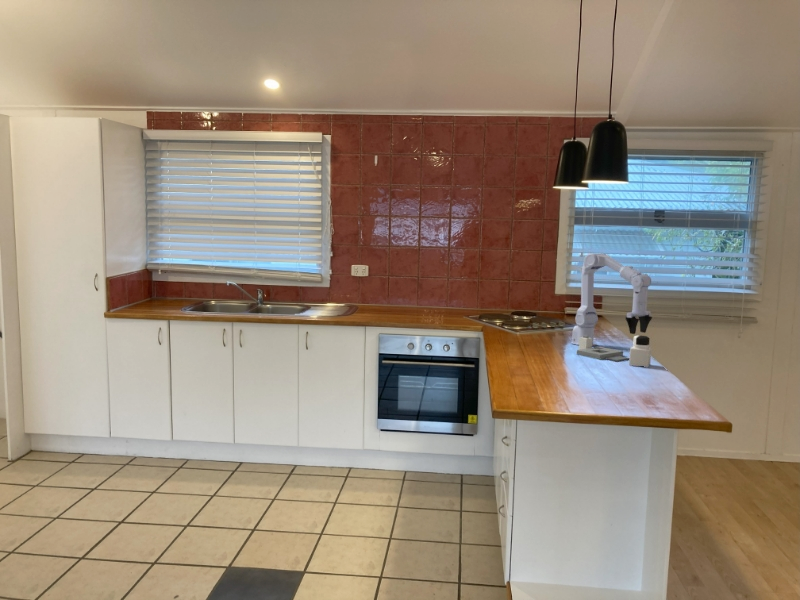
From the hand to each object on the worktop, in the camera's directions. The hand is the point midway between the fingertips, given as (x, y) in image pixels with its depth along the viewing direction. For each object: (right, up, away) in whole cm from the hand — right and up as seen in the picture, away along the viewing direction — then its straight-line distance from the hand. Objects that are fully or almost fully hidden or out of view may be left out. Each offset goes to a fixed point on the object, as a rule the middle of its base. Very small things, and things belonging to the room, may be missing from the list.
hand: (637, 333), depth 264 cm
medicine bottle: (-6, -12, -18) cm, 23 cm away
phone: (-12, -11, -8) cm, 18 cm away
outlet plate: (-16, -10, 0) cm, 19 cm away
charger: (-20, -9, +9) cm, 24 cm away
